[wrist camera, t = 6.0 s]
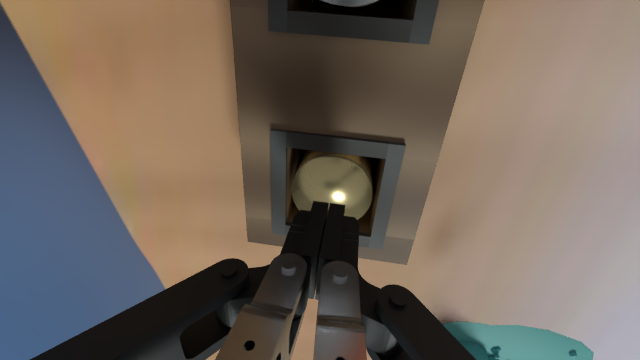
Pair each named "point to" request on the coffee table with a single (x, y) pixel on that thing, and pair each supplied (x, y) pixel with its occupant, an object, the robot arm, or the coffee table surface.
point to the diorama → (516, 342)
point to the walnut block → (347, 106)
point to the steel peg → (351, 2)
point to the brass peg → (334, 181)
